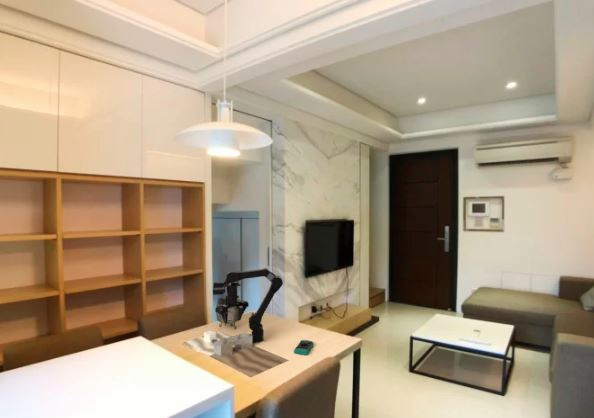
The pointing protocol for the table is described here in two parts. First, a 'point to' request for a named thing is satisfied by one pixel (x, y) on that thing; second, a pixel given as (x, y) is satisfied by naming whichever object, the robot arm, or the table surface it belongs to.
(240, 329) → the table surface
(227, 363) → the base board
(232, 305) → the robot arm
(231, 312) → the tabletop clock
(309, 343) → the digital multimeter
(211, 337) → the plug
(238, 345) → the motor housing
